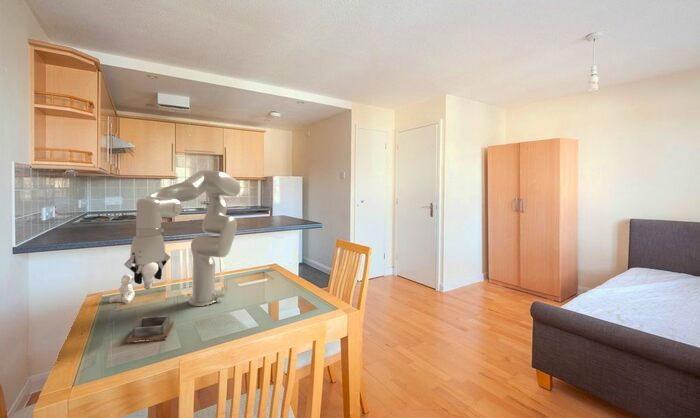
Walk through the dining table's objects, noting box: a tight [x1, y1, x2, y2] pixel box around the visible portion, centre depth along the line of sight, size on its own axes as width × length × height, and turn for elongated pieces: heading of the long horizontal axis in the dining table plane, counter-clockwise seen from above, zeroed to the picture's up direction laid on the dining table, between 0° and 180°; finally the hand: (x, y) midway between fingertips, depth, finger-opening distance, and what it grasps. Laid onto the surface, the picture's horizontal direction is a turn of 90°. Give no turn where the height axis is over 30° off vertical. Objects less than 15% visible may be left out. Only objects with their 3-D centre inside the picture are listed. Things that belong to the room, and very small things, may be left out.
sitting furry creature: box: [108, 274, 136, 305], centre depth 144 cm, size 10×9×12 cm
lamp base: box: [126, 315, 175, 344], centre depth 115 cm, size 12×12×4 cm
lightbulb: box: [140, 262, 158, 290], centre depth 114 cm, size 6×6×11 cm
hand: (148, 280), depth 114 cm, fingers closed on lightbulb, 6 cm apart
